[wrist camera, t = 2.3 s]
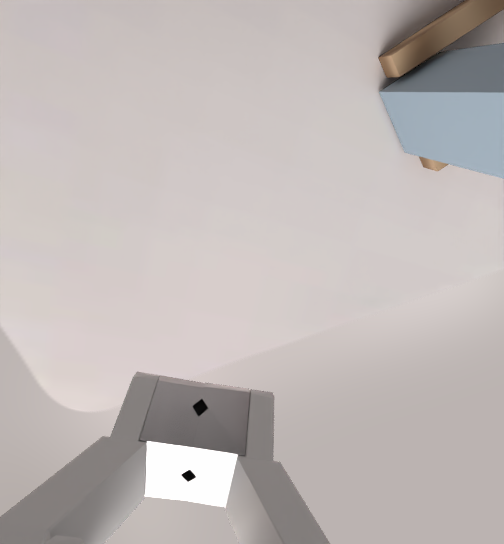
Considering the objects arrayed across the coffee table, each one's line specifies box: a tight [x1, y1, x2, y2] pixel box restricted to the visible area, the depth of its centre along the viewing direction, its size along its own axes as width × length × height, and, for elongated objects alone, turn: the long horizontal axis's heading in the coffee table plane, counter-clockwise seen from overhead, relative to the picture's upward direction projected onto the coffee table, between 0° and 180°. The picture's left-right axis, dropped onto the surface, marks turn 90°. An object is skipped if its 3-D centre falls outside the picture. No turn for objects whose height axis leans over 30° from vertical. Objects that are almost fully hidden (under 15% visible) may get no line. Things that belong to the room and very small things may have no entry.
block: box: [379, 43, 504, 179], centre depth 26 cm, size 5×5×14 cm
